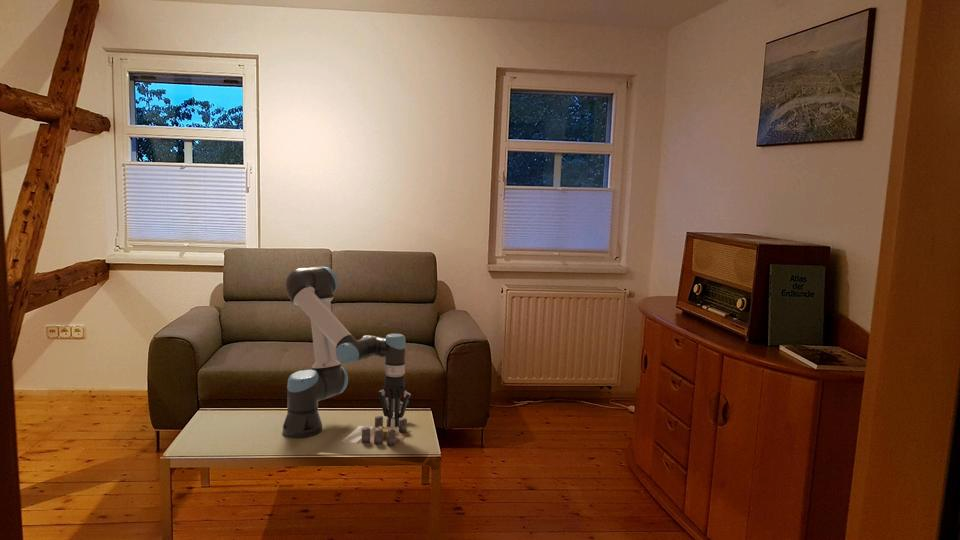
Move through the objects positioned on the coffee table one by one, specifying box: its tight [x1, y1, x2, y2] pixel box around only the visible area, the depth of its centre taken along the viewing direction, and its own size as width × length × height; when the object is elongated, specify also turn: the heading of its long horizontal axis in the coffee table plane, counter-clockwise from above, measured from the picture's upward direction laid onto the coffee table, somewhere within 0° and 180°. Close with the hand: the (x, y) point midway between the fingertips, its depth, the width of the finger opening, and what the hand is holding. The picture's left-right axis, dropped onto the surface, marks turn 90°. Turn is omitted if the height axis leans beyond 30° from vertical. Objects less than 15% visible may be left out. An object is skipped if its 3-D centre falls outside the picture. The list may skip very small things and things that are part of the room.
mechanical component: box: [386, 397, 410, 417], centre depth 255 cm, size 3×10×10 cm, turn 89°
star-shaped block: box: [375, 425, 391, 439], centre depth 236 cm, size 7×7×3 cm
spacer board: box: [341, 415, 412, 448], centre depth 236 cm, size 22×18×6 cm
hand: (393, 434), depth 235 cm, fingers closed
